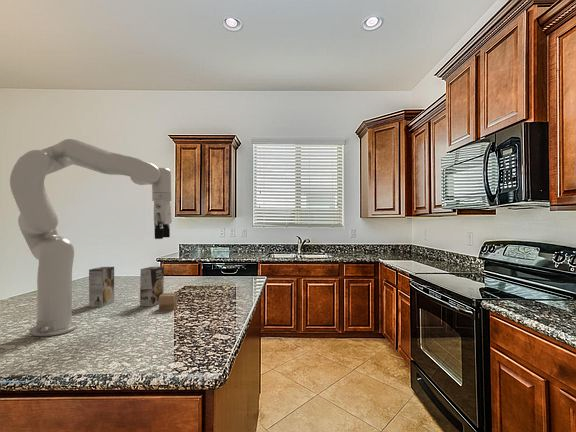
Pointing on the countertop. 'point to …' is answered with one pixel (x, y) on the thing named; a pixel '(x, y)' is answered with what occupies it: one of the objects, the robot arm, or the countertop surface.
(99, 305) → the coffee box
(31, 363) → the countertop surface
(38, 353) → the countertop surface
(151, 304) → the coffee box
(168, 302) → the tan cube
